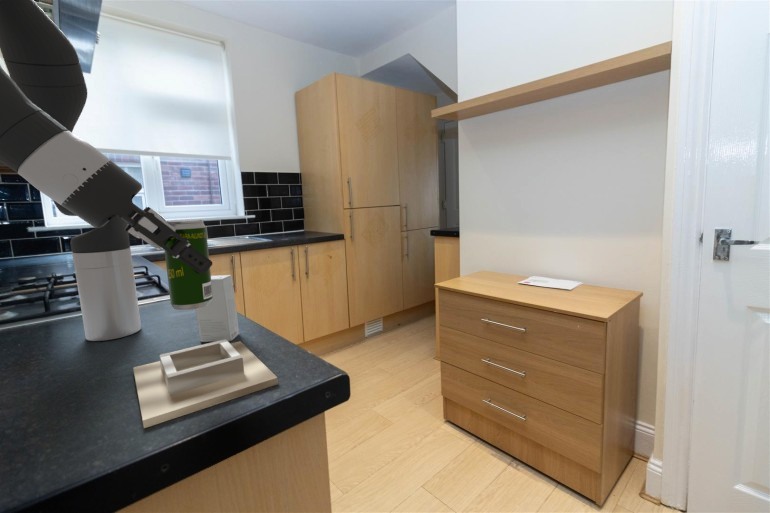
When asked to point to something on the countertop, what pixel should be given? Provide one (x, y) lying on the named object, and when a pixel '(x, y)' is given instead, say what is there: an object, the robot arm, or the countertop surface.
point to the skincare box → (219, 312)
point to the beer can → (188, 269)
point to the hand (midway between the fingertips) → (202, 265)
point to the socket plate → (198, 380)
